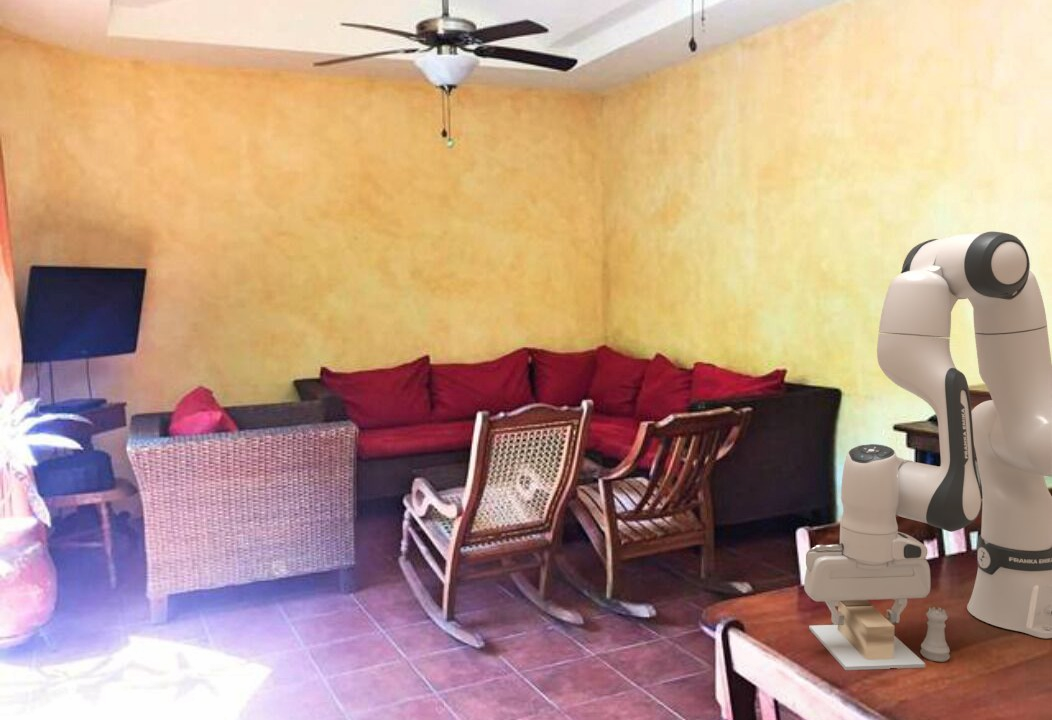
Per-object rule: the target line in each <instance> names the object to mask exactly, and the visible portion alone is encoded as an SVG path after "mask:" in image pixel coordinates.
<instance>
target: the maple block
mask: <svg viewBox="0 0 1052 720" xmlns="http://www.w3.org/2000/svg"><path fill="white" fill-rule="evenodd" d="M837 611H840V612H841V613H842V614H843V615H844V625H838V631H839V632H840V633H841V634H842V635H843V636H844V637H845V638H846V639H847V640H848V641H849V642H850V643H851V644H852V645H853V646H854V647H855V648H856V649H857V650H858V652H859V653H860V654H861V655H862V656H863V657H864V658H865V659H866V660H867V659H893V655H894V636H895V629H896V627H895V625H894V623H890V622H889V621H888V620H887V619H886V616H884V615H883V614H881V613H880V612H879V611H878V610H877V609H876V608H875V607H874V606H873V605H872V603H871V602H869V600H845V601H838V606H837Z"/></svg>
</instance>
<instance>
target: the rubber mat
mask: <svg viewBox="0 0 1052 720" xmlns="http://www.w3.org/2000/svg"><path fill="white" fill-rule="evenodd" d="M808 628H809V630H810V632H811V633H812V634H813V635H814V636H815V637H816V638H817V640H818V641H819V642H820V643H821V644H822V645H823V646H824V647H825V649H826V650H827V651H828V653H830V654H831V655H832V657H833V658H834V659H835V660H836V661H837V663H839V665H840V666H841V667H842V668H843V670H845V671H859V670H861V671H863V670H864V671H865V670H866V671H867V670H868V671H869V670H889V669H890V668H897V669H914V668H915V669H920V668H922V669H923V668H926V663H925V662H924V661H923V660H922V659H921V658H920V657H918V656H917V655H916V654H915V653H914V652H913V651H912V650H911V649H910V648H909V647H908V646H907V645H905V644H904V643H903V642H902V640H900V639H899V638H898V637H897V636H895V635H894V655H893V659H867V660H866V659H865V658H864V657H863V656H862V655H861V654H860V653H859V652H858V650H857V649H856V648H855V647H854V646H853V645H852V644H851V643H850V642H849V641H848V640H847V639H846V638H845V637H844V636H843V635H842V634H841V633H840V632H839V631H838V625H834V624H817V625H816V624H815V625H809V627H808Z"/></svg>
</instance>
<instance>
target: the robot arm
mask: <svg viewBox="0 0 1052 720" xmlns="http://www.w3.org/2000/svg"><path fill="white" fill-rule="evenodd" d="M1030 263H1031V262H1030V256H1029V254H1028V251H1027V248H1026V246H1025V245H1024V243H1023V242H1022V241H1021V240H1020V239H1019V237H1017V236H1015V235H1013V234H1010V233H1007V232H1002V231H986V232H969V233H968V232H966V233H965V232H964V233H957V234H955V235H952V236H946V237H942V238H932V239H928V240H926V241H923V242H921V243H919V244H916V245H915V246H913V248H912V249H911V250H910V251H909V252H908V253H907V255H906V256H905V259H904V260H903V263H902V267H901V268H902V269H901V272H900V274H897V275H896V276H895V277H894V278H893V279H892V280H891V281H890V283H889V286H888V287H887V291H886V294H885V297H884V302H883V305H882V310H881V314H880V321H879V327H878V337H877V343H876V344H877V348H876V354H877V362H878V365H879V367H880V369H881V371H882V373H884V375H885V376H886V377H887V378H888V379H889V380H890V381H892V382H893V383H894V384H895V385H896V386H898V387H900V388H902V389H904V390H906V391H908V393H909V392H910V393H911V394H913V395H915V396H916V397H918V398H920V399H922V401H924V402H925V403H927V404H928V406H930V408H931V409H932V411H934V413H935V416H936V418H937V426H938V427H937V428H938V438H939V439H938V441H939V452H940V453H939V454H940V456H939V457H940V466H937V465H934V464H933V465H932V464H928V463H922V462H916V461H913V460H910V459H909V460H908V459H904V458H902V457H898V456H897V453H896V451H895V450H894V449H893V448H892V447H890V446H887V445H884V444H876V443H875V444H874V443H870V444H861V445H857V446H854V447H853V448H851V449H849V451H848V452H847V454H846V458H845V459H844V460H845V461H844V465H843V470H842V476H841V489H840V499H841V504H842V514H841V518H840V521H839V522H840V525H839V543H835V544H834V543H832V544H816V545H814V547H811V548H810V549H809V550H807V551H806V554H805V566H806V569H805V575H804V584H803V585H804V586H803V587H804V588H803V590H804V591H805V594H807V596H808V597H809V598H810V599H812V600H813V601H814V602H825V604H826V606H827V608H828V609H829V611H830V612H831V614H830V615H831V619H830V620H831V623H832V625H844V615H843V614H842V613H841V612H840V611H838V609H837V608H836V607H838V601H845V600H867V601H869V600H871V601H872V600H873V601H874V600H893V601H894V603H893V605H892V606H891V608H890V609H886V610H885V612H886V613H885V614H886V615H885V618H886V619H887V620H888V621H889V622H890V623H892V624H900V620H901V618H900V616H901V614H902V612H903V611H904V610H905V609H906V607H907V606H908V599H925V598H926V597H927V596H928V595H929V594H930V592H931V568H930V565H929V562H928V561H927V560H926V559H925V558H926V557H927V556H928V547H927V546H926V545H924V544H923V543H922V542H920V541H919V540H918V539H916V538H914V537H913V536H911V535H908V534H907V533H904V532H900V531H898V529H899V527H898V522H897V518H896V517H897V516H899V517H901V518H905V519H909V520H912V521H917V522H921V523H925V524H928V525H929V526H932V527H935V528H938V529H941V530H944V531H946V532H950V533H951V532H956V531H960V530H962V529H963V528H966V527H968V526H970V525H971V524H972V523H973V522H975V521H976V520H977V518H978V517H979V515H980V513H981V527H980V528H981V531H980V532H981V533H980V534H979V535H978V538H977V551H976V552H977V553H976V559H977V573H976V577H975V580H974V581H975V582H974V587H973V590H972V592H971V596H970V598H969V602H968V603H967V605H966V608H967V611H968V612H969V614H971V616H974V618H976V619H978V620H980V621H982V622H985V623H986V624H990V625H992V626H995V627H999V628H1002V629H1006V630H1010V631H1015V632H1021V633H1025V634H1028V635H1030V636H1033V637H1036V638H1041V639H1052V494H1051V492H1050V490H1049V489H1048V486H1047V482H1046V479H1045V477H1052V357H1051V356H1052V355H1051V349H1050V341H1049V331H1048V321H1047V314H1046V309H1045V304H1044V299H1043V295H1042V292H1041V289H1040V286H1039V282H1038V281H1037V277H1036V275H1035V274H1034V273H1033V272H1032V271H1031V270H1030V269H1031V267H1030V266H1031V264H1030ZM966 299H967V300H968V301H969V303H970V305H971V306H972V308H973V310H972V311H973V328H974V338H975V348H976V355H977V357H976V358H977V364H978V373H979V376H980V378H981V380H982V381H983V383H984V384H985V386H986V389H987V390H988V393H989V395H990V397H991V400H990V399H989V400H986V401H983V402H981V403H979V404H977V405H976V406H975V407H974V408H972V404H971V403H972V402H971V395H970V389H969V384H968V380H967V378H966V375H965V374H964V373H963V372H961V371H960V370H959V369H957V367H956V365H955V363H954V361H953V358H952V354H951V353H952V352H951V347H950V346H951V345H950V343H951V341H950V340H951V331H952V330H951V329H952V327H951V326H952V311H953V308H954V307H955V305H956V304H957V302H958V301H959V300H966ZM976 463H977V466H978V473H979V475H978V473H977V466H976ZM978 476H979V477H978ZM979 479H980V482H979ZM981 510H982V511H981Z"/></svg>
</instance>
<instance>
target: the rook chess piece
mask: <svg viewBox="0 0 1052 720" xmlns="http://www.w3.org/2000/svg"><path fill="white" fill-rule="evenodd" d="M925 615H926V617H927V619H928V621H927V622H926V624H927V632H926V636H925V638H924V639H923V642H921V644H920V648H921V649H920V650H919V651H920V652H919V653H920V655H921V656H922V657H923V658H925V659H926V660H928V661H931V662H934V661H935V662H936V663H944V662H948V661H949V659H950V658H951V655H950V652H951V651H950V647H949V645H948V642H946V634H945V628H946V627H947V626H946V623H945V622H946V620H948V618H949V616H948V615H947V613H946V609H944V608H943V609H942V607H937V609H936V606H931V607H928V611H927V612H925Z"/></svg>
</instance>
